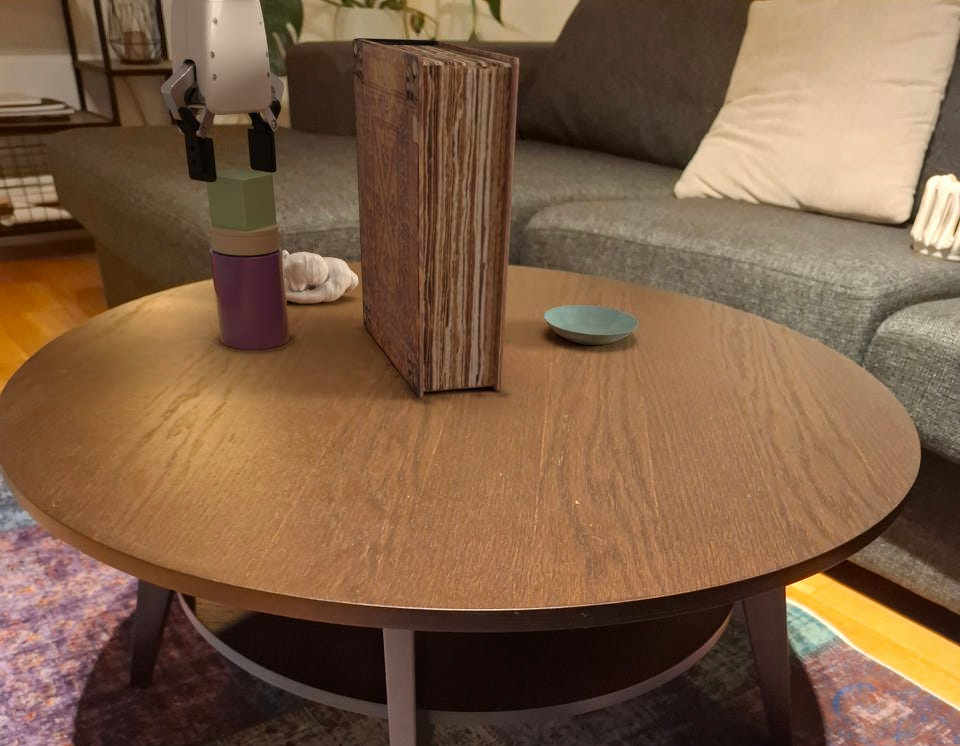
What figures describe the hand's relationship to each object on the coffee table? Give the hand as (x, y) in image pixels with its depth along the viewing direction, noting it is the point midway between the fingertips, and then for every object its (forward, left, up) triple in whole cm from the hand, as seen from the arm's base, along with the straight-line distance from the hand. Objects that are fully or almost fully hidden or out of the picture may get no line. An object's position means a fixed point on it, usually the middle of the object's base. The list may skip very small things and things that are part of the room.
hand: (234, 175), depth 96 cm
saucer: (+33, +24, -18) cm, 45 cm away
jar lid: (0, 0, -5) cm, 5 cm away
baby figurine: (-5, +17, -18) cm, 25 cm away
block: (0, +1, -5) cm, 5 cm away
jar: (0, 0, -18) cm, 18 cm away
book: (+20, +6, -18) cm, 28 cm away
